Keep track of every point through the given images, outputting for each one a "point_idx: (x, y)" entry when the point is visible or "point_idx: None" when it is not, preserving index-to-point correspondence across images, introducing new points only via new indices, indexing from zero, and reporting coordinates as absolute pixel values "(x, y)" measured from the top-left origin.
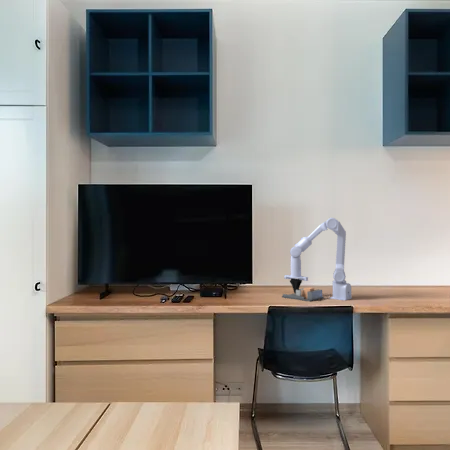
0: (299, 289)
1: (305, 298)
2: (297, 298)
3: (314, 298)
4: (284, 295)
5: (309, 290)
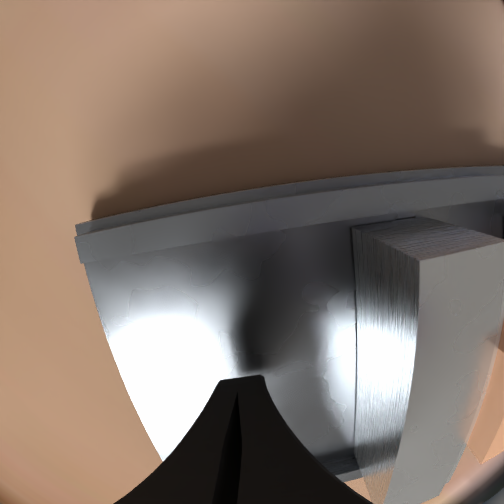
0: (407, 486)
1: None
2: None
3: None
4: None
5: None
